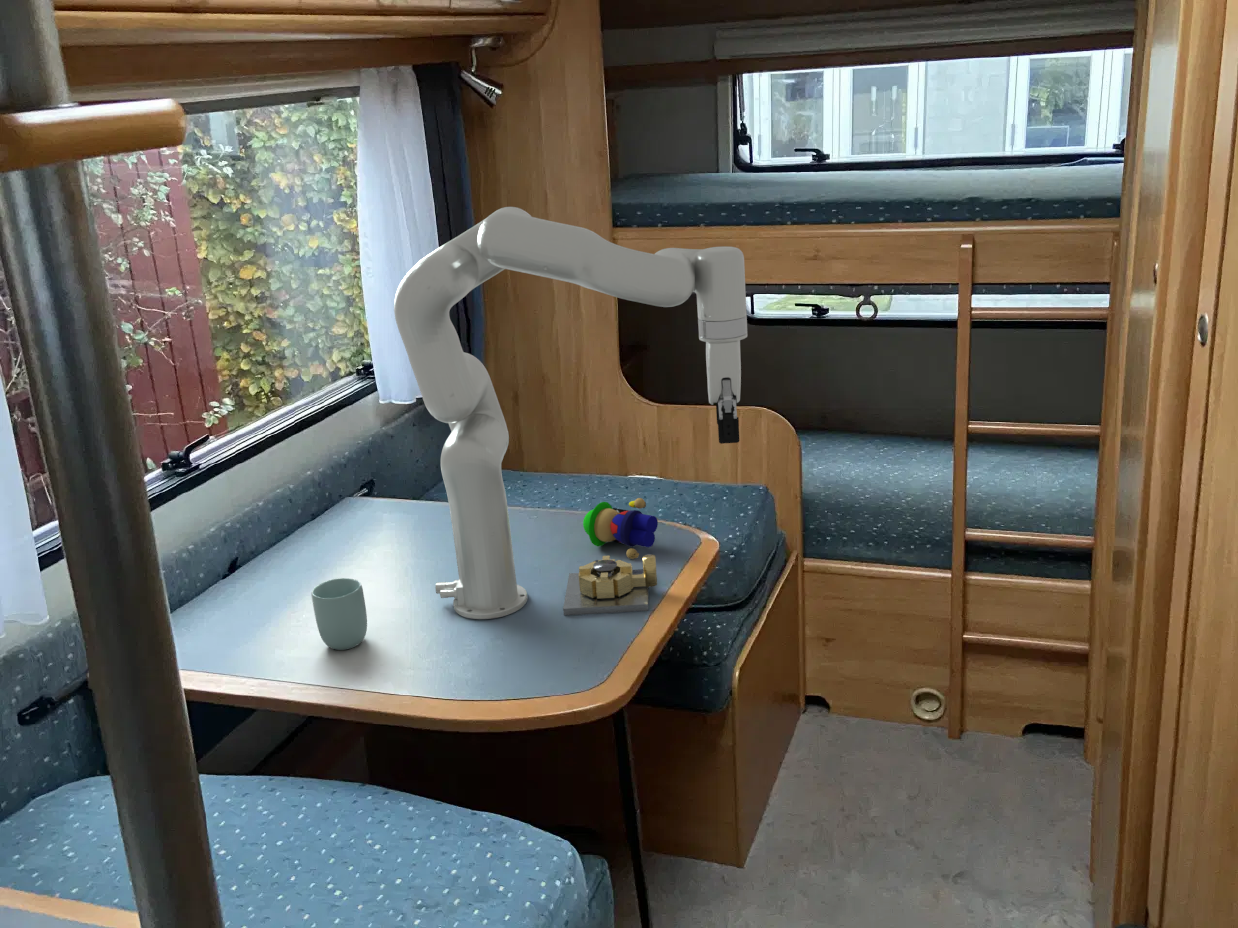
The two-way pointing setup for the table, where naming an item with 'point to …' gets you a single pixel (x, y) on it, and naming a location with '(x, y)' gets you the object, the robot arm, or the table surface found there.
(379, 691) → the table surface
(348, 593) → the cup
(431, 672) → the table surface
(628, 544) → the toy
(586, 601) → the base plate
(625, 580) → the ring nut
